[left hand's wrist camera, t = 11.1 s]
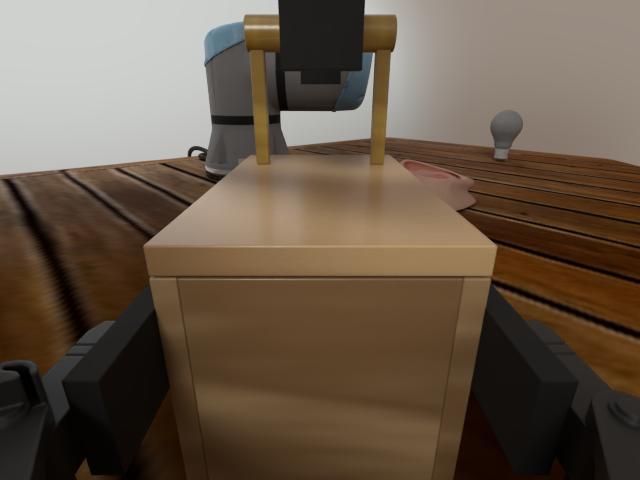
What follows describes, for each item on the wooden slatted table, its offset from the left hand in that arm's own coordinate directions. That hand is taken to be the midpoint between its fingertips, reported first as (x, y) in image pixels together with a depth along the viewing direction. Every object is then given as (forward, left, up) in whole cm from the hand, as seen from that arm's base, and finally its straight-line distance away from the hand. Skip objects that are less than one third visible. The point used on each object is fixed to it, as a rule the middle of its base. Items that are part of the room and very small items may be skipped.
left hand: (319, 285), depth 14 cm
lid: (-3, +3, +2) cm, 5 cm away
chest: (-3, +2, -6) cm, 7 cm away
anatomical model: (-17, +36, -6) cm, 40 cm away
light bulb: (-23, +74, -6) cm, 78 cm away
